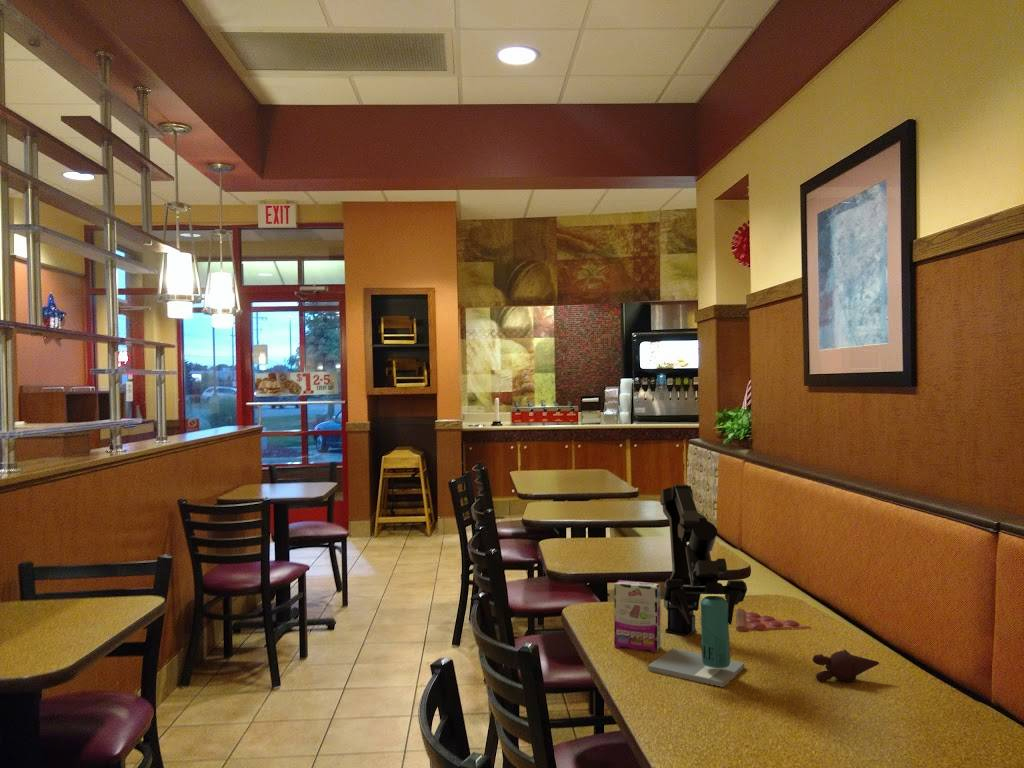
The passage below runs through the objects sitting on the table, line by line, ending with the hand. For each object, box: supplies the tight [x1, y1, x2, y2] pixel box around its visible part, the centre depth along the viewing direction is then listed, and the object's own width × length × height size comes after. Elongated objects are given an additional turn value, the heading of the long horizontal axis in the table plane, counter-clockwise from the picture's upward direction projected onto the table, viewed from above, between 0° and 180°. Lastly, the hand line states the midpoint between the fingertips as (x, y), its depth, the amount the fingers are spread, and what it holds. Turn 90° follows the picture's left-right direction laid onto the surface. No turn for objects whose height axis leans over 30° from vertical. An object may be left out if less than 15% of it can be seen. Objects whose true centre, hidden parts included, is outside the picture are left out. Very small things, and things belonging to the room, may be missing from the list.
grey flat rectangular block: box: [647, 647, 745, 688], centre depth 182 cm, size 18×15×1 cm
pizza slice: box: [735, 607, 812, 632], centre depth 217 cm, size 18×2×20 cm
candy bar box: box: [613, 579, 662, 653], centre depth 197 cm, size 11×5×16 cm, turn 68°
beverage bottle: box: [700, 581, 731, 668], centre depth 177 cm, size 6×7×20 cm
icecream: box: [812, 649, 880, 682], centre depth 176 cm, size 7×7×15 cm
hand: (710, 623), depth 176 cm, fingers open, 9 cm apart
